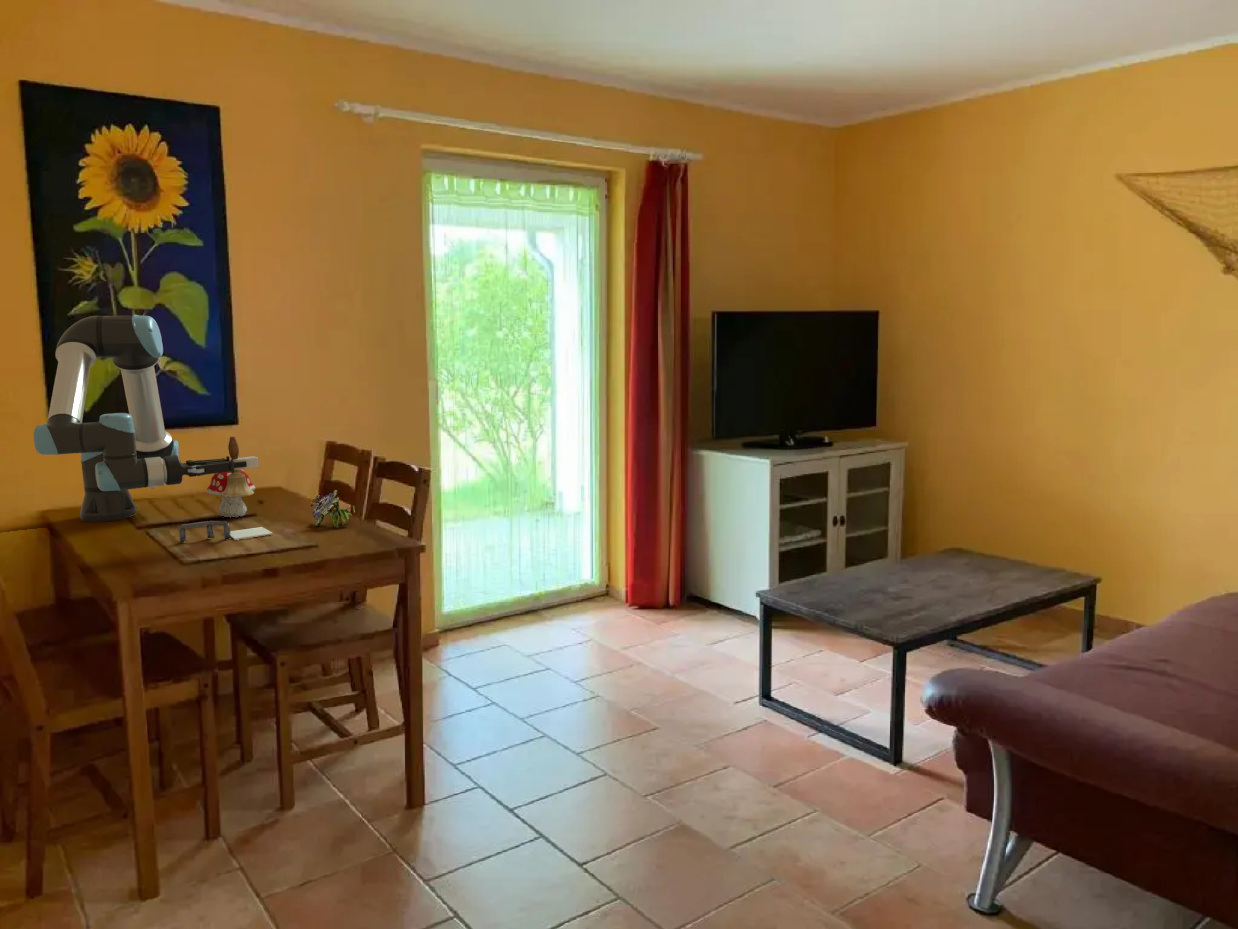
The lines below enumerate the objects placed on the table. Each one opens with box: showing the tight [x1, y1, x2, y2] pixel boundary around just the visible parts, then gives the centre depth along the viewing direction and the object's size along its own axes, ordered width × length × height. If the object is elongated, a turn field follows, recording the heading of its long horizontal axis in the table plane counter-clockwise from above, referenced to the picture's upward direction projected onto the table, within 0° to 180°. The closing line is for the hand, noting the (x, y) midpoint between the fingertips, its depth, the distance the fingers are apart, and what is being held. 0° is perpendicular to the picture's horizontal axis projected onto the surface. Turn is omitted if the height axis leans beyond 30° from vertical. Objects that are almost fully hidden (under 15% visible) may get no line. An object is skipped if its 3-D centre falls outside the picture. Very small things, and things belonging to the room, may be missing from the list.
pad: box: [230, 526, 274, 541], centre depth 264 cm, size 10×10×1 cm
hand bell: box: [220, 436, 255, 498], centre depth 260 cm, size 8×8×16 cm
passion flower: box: [310, 489, 356, 529], centre depth 275 cm, size 11×11×12 cm
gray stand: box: [178, 520, 232, 543], centre depth 258 cm, size 5×12×5 cm, turn 126°
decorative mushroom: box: [206, 469, 256, 519], centre depth 288 cm, size 14×14×15 cm
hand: (256, 461), depth 263 cm, fingers closed on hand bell, 2 cm apart
